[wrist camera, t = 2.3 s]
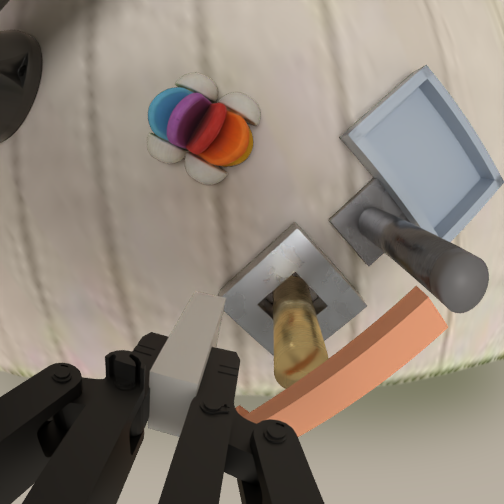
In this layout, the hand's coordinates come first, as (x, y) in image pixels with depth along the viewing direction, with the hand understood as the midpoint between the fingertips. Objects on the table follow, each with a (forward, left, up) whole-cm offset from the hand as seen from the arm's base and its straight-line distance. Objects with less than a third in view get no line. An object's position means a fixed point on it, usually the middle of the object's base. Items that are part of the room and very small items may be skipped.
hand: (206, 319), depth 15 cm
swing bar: (+7, +3, -2) cm, 8 cm away
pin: (+7, 0, -16) cm, 18 cm away
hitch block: (+7, 0, -16) cm, 18 cm away
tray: (+6, +19, -16) cm, 26 cm away
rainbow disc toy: (-10, +5, -16) cm, 20 cm away
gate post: (+7, +11, -16) cm, 20 cm away
